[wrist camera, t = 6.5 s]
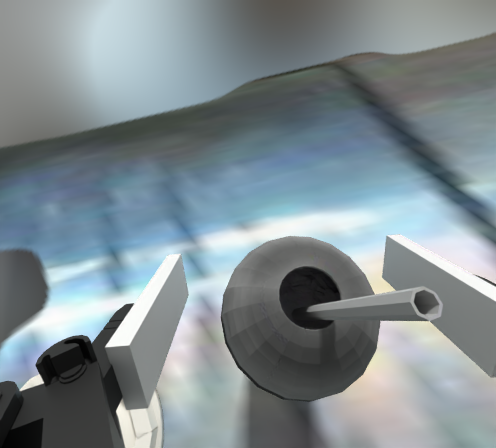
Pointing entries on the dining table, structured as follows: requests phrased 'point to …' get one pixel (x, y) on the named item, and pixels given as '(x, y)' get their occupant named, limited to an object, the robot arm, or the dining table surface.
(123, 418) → the plate
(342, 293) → the beverage cup
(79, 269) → the dining table surface
